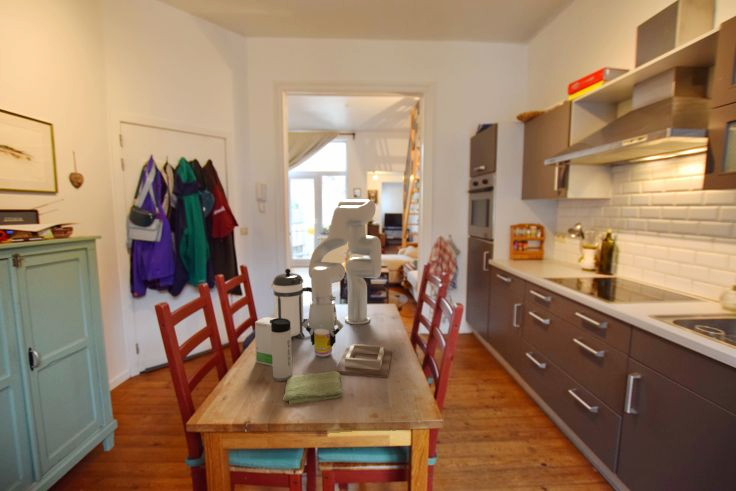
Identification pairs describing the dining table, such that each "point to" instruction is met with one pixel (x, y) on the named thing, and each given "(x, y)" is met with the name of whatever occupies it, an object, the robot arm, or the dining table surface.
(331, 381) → the washcloth
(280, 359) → the travel mug
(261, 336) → the skincare box
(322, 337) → the supplement bottle
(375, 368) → the collar dock
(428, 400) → the dining table surface
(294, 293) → the coffee press
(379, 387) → the dining table surface
